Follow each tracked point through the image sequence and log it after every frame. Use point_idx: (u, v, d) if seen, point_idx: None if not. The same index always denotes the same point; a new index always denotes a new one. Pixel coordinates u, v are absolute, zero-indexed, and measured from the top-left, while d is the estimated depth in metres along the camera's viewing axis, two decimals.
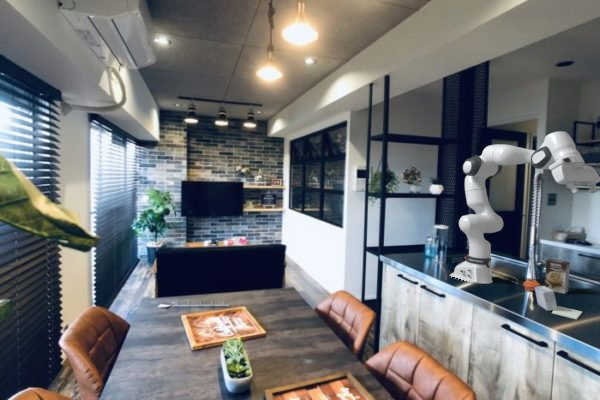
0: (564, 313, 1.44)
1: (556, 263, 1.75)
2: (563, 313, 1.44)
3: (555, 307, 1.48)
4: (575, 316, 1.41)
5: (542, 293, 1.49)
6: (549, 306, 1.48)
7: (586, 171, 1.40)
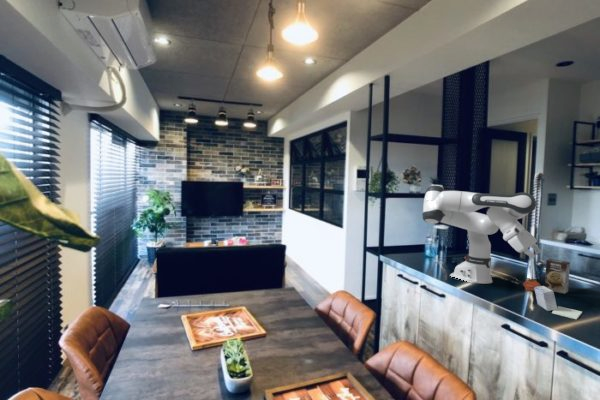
0: (564, 313, 1.44)
1: (556, 263, 1.75)
2: (563, 313, 1.44)
3: (555, 307, 1.48)
4: (575, 316, 1.41)
5: (542, 293, 1.49)
6: (549, 306, 1.48)
7: (527, 235, 1.61)
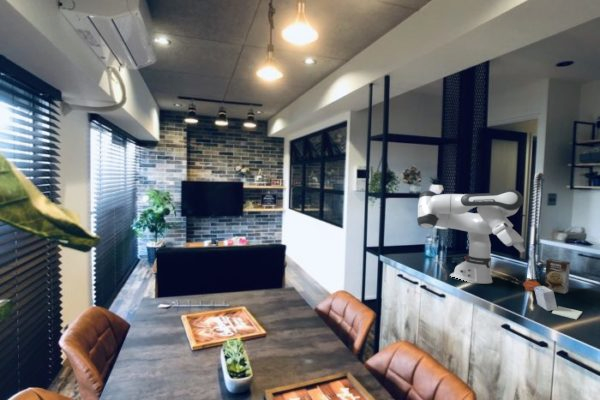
0: (564, 313, 1.44)
1: (556, 263, 1.75)
2: (563, 313, 1.44)
3: (555, 307, 1.48)
4: (575, 316, 1.41)
5: (542, 293, 1.49)
6: (549, 306, 1.48)
7: (514, 233, 1.64)
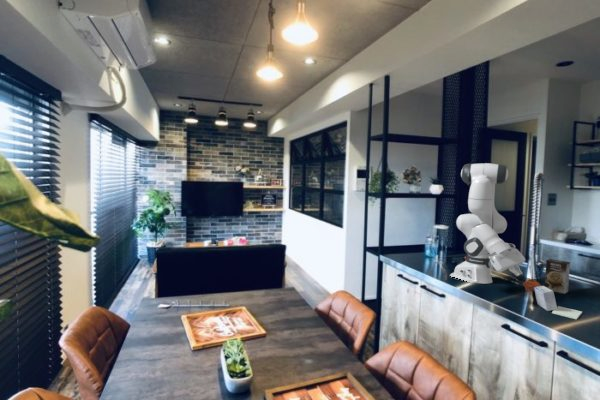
0: (564, 313, 1.44)
1: (556, 263, 1.75)
2: (563, 313, 1.44)
3: (555, 307, 1.48)
4: (575, 316, 1.41)
5: (542, 293, 1.49)
6: (549, 306, 1.48)
7: None
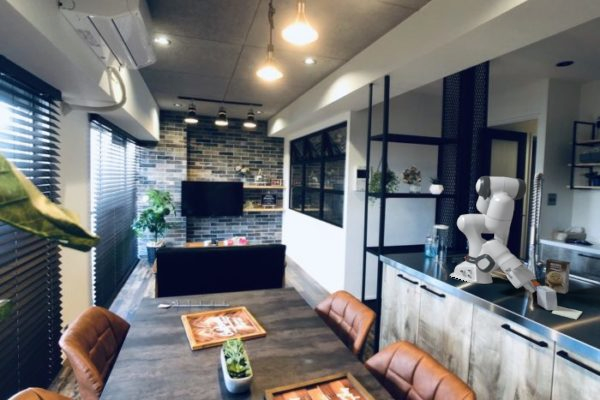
0: (564, 313, 1.44)
1: (556, 263, 1.75)
2: (563, 313, 1.44)
3: (555, 307, 1.48)
4: (575, 316, 1.41)
5: (544, 292, 1.49)
6: (549, 305, 1.48)
7: None
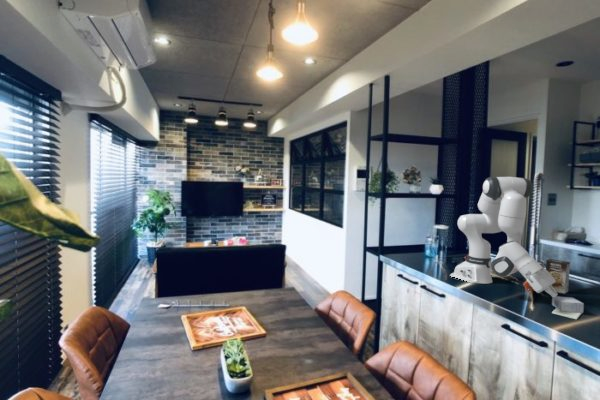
0: (564, 313, 1.44)
1: (556, 263, 1.75)
2: (563, 313, 1.44)
3: (564, 310, 1.46)
4: (575, 316, 1.41)
5: (580, 302, 1.46)
6: (567, 304, 1.46)
7: None
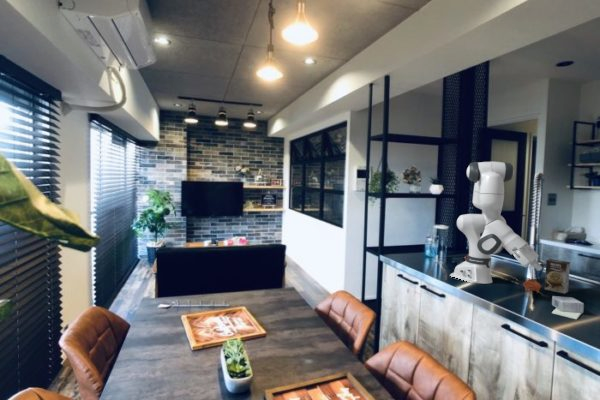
0: (564, 313, 1.44)
1: (556, 263, 1.75)
2: (563, 313, 1.44)
3: (564, 310, 1.46)
4: (575, 316, 1.41)
5: (580, 302, 1.46)
6: (567, 304, 1.46)
7: None
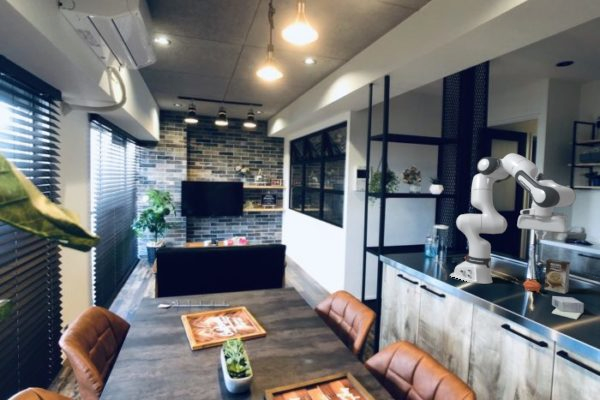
0: (564, 313, 1.44)
1: (556, 263, 1.75)
2: (563, 313, 1.44)
3: (564, 310, 1.46)
4: (575, 316, 1.41)
5: (580, 302, 1.46)
6: (567, 304, 1.46)
7: (551, 221, 1.63)
